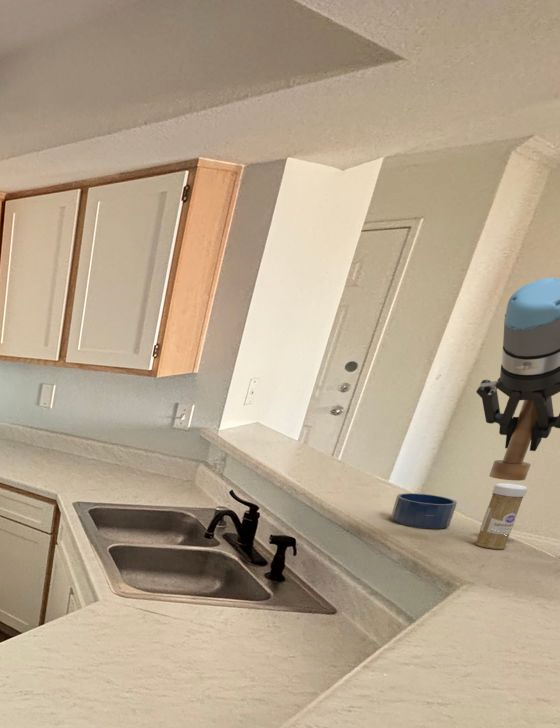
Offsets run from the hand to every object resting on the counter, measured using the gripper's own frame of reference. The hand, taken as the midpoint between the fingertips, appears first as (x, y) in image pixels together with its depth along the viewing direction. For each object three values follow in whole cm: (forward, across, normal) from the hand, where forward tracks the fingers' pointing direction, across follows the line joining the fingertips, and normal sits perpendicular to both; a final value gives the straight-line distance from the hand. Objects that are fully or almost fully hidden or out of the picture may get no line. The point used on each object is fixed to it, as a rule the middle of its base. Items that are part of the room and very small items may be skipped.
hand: (522, 444), depth 115 cm
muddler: (+2, 0, -7) cm, 7 cm away
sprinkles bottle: (+19, 0, -13) cm, 23 cm away
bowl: (+26, -14, -6) cm, 30 cm away
